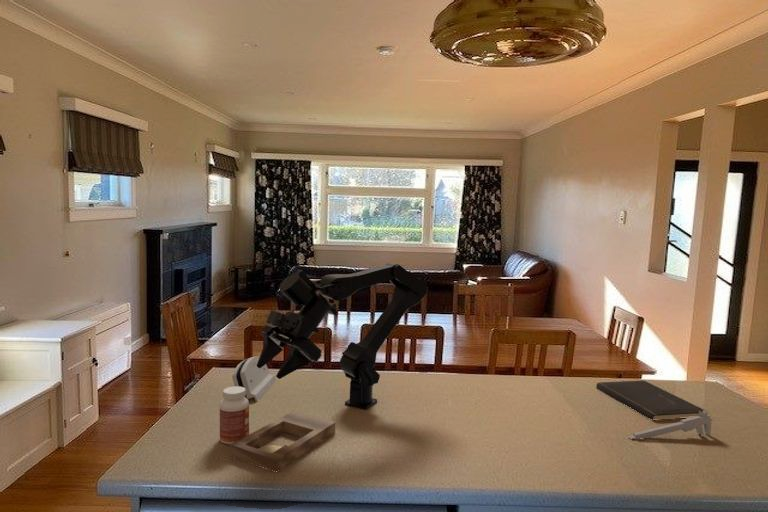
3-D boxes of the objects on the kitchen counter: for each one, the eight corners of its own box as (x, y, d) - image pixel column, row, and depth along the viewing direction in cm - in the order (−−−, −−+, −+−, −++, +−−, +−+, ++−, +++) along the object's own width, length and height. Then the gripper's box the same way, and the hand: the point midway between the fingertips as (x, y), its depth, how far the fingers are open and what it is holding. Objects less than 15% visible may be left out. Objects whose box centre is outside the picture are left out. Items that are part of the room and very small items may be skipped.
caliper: (706, 435, 116) (708, 409, 116) (710, 437, 115) (712, 411, 115) (627, 439, 113) (629, 412, 113) (631, 441, 112) (633, 414, 112)
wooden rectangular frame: (293, 420, 118) (293, 410, 117) (335, 432, 112) (335, 422, 112) (230, 456, 100) (230, 444, 100) (276, 472, 94) (276, 460, 94)
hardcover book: (643, 387, 149) (644, 380, 148) (706, 420, 126) (707, 411, 126) (595, 390, 145) (596, 382, 145) (652, 423, 123) (652, 414, 123)
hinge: (257, 402, 128) (244, 366, 128) (240, 407, 129) (227, 371, 128) (276, 380, 145) (265, 348, 144) (261, 384, 145) (250, 353, 145)
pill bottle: (251, 442, 106) (251, 392, 105) (221, 447, 104) (221, 396, 103) (246, 430, 112) (246, 383, 111) (218, 435, 109) (217, 386, 108)
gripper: (268, 291, 121) (225, 343, 115) (310, 303, 107) (264, 362, 101) (296, 318, 127) (257, 369, 120) (339, 333, 113) (297, 391, 107)
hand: (267, 372), depth 112 cm, fingers open, 9 cm apart
